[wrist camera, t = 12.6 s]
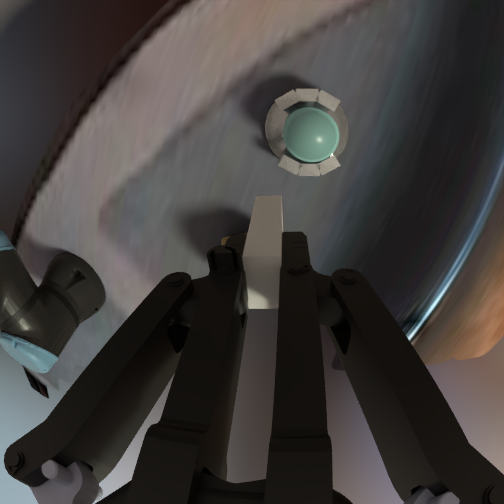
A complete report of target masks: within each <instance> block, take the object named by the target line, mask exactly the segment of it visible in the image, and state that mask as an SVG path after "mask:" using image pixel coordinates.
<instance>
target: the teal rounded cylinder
mask: <svg viewBox="0 0 504 504" xmlns="http://www.w3.org/2000/svg"><path fill="white" fill-rule="evenodd" d="M283 138H284V142H285V145H286V147H287V149H288V150H289V151H290V153H291V154H292V155H294V156H295V157H296V158H298V159H300V160H303V161H307V162H318V161H321V160H324V159H326V158H328V157H329V156H330V155H331V154H332V153H333V152H334V151H335V149H336V148H337V145H338V142H339V130H338V126H337V124H336V122H335V121H334V119H333V118H332V117H331V116H330V115H329V114H327V113H326V112H324V111H322V110H320V109H318V108H316V107H312V106H302V107H298V108H296V109H294V110H293V111H292V112H290V114H289V115H288V116H287V118H286V120H285V123H284V130H283Z"/></svg>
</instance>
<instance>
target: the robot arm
mask: <svg viewBox="0 0 504 504" xmlns="http://www.w3.org/2000/svg"><path fill="white" fill-rule="evenodd" d="M207 258H208V263H209V268H210V272H209V275H208V276H206V277H202V278H198V279H193V280H192V279H191V276H190V275H189V274H188V273H185V272H175V273H171V274H169V275H167V276H166V277H164V278H163V279H162V280H161V281H160V282H159V284H158V285H157V286H156V287H155V288H154V289H153V290H152V291H151V292H150V294H149V295H148V296H147V297H146V298H145V299H144V300H143V301H142V303H141V304H140V305H139V306H138V307H137V308H136V309H135V311H134V312H133V313H132V314H131V315H130V316H129V317H128V319H127V320H126V321H125V322H124V323H123V324H122V325H121V327H120V328H119V329H118V330H117V331H116V333H115V334H114V335H113V336H112V337H111V338H110V340H109V341H108V342H107V343H106V344H105V346H104V347H103V348H102V349H101V350H100V352H99V353H98V354H97V355H96V356H95V358H94V359H93V360H92V361H91V362H90V364H89V365H88V366H87V367H86V369H85V370H84V371H83V372H82V374H81V375H80V376H79V377H78V379H77V380H76V381H75V382H74V384H73V385H72V386H71V387H70V389H69V390H68V391H67V393H66V394H65V395H64V396H63V398H62V399H61V400H60V402H59V403H58V404H57V406H56V407H55V408H54V410H53V411H52V412H51V414H50V415H49V416H48V418H47V419H46V420H45V421H44V422H43V423H41V424H40V425H38V426H37V427H35V428H34V429H33V430H31V431H30V432H29V433H27V434H26V435H24V436H23V437H21V438H20V439H18V440H17V441H16V442H14V443H13V444H11V445H10V446H9V447H8V448H7V450H6V452H5V455H4V464H5V468H6V470H7V472H8V473H9V475H11V476H12V477H13V478H15V479H17V480H19V481H20V482H22V483H24V484H26V485H28V486H29V487H30V488H31V490H32V492H33V494H34V496H35V498H36V500H37V502H38V503H39V504H92V503H93V502H94V501H95V500H98V499H100V498H101V497H102V495H103V491H102V489H101V487H100V486H99V483H100V482H101V481H102V480H103V479H104V478H105V477H106V476H107V475H108V474H109V473H110V472H111V471H112V470H113V469H114V467H115V466H116V465H117V463H118V462H119V461H120V459H121V457H122V456H123V454H124V453H125V451H126V449H127V448H128V446H129V444H130V443H131V442H132V440H133V438H134V437H135V435H136V434H137V432H138V430H139V429H140V427H141V426H142V424H143V423H144V421H145V419H146V418H147V416H148V414H149V413H150V411H151V410H152V408H153V407H154V405H155V403H156V402H157V400H158V399H159V397H160V396H161V394H162V392H163V391H164V389H165V388H166V386H167V384H168V383H169V381H170V379H171V378H172V376H173V375H174V373H175V375H174V378H173V381H172V384H171V388H170V390H169V394H168V397H167V400H166V403H165V406H164V410H163V413H162V416H161V419H160V421H159V422H158V423H156V424H153V425H151V426H150V427H149V428H148V430H147V432H146V434H145V437H144V440H143V444H142V447H141V450H140V454H139V457H138V460H137V464H136V467H135V470H134V474H133V477H132V480H131V481H129V482H128V483H127V484H125V485H124V486H122V487H121V488H119V489H118V490H116V491H115V492H113V493H111V494H110V495H108V496H107V497H105V498H104V499H102V500H101V501H99V502H97V503H96V504H353V503H352V502H351V501H350V500H348V499H347V498H346V497H345V496H343V495H342V494H341V493H339V492H337V491H335V490H334V489H333V485H332V483H333V482H332V445H331V439H330V437H329V435H328V431H327V411H326V394H325V380H324V366H323V354H322V344H321V334H320V324H322V325H326V329H327V331H328V333H329V336H330V338H331V340H332V342H333V345H334V347H335V349H336V351H337V354H338V356H339V358H340V360H341V362H342V365H343V367H344V369H345V371H346V374H347V376H348V378H349V380H350V383H351V385H352V387H353V390H354V392H355V394H356V397H357V399H358V401H359V404H360V406H361V408H362V411H363V413H364V415H365V418H366V420H367V423H368V425H369V427H370V430H371V432H372V435H373V437H374V440H375V442H376V445H377V447H378V450H379V452H380V455H381V457H382V460H383V462H384V465H385V467H386V470H387V472H388V475H389V478H390V480H391V482H392V484H393V486H394V488H395V490H396V491H397V493H398V494H399V496H400V498H401V499H402V500H403V501H404V502H405V503H404V504H504V475H503V474H502V473H501V472H500V471H499V470H498V469H497V468H496V467H495V466H494V465H492V464H491V463H490V462H489V461H488V460H487V459H486V458H484V457H483V456H482V455H481V454H480V453H479V452H478V451H477V450H476V449H475V448H473V446H471V445H470V444H469V442H468V440H467V438H466V436H465V434H464V432H463V430H462V429H461V427H460V425H459V423H458V421H457V420H456V417H455V416H454V414H453V412H452V410H451V409H450V407H449V405H448V403H447V401H446V400H445V398H444V396H443V394H442V393H441V391H440V389H439V388H438V386H437V384H436V383H435V381H434V379H433V378H432V376H431V374H430V373H429V371H428V369H427V368H426V366H425V365H424V363H423V361H422V360H421V358H420V357H419V355H418V354H417V352H416V351H415V349H414V347H413V346H412V344H411V343H410V341H409V340H408V338H407V337H406V335H405V334H404V332H403V331H402V329H401V328H400V326H399V325H398V323H397V322H396V321H395V319H394V318H393V316H392V315H391V313H390V312H389V310H388V309H387V308H386V306H385V305H384V303H383V302H382V301H381V299H380V298H379V296H378V295H377V294H376V292H375V291H374V290H373V288H372V287H371V285H370V284H369V283H368V281H367V280H366V279H365V277H364V276H363V275H362V274H361V273H360V272H358V271H356V270H354V269H348V268H346V269H339V270H336V271H335V272H334V273H333V274H332V276H326V275H322V274H319V273H317V272H316V271H314V270H313V268H312V266H311V265H310V257H309V250H308V243H307V236H306V235H305V234H304V233H303V232H283V217H282V195H280V196H256V199H255V203H254V208H253V212H252V216H251V221H250V225H249V229H248V234H232V235H231V236H230V237H229V238H228V239H227V240H226V243H225V245H220V246H217V247H214V248H212V249H210V250H209V251H208V253H207ZM105 297H106V296H105V289H104V286H103V284H102V282H101V280H100V278H99V277H98V275H97V274H96V272H95V271H94V270H93V269H92V268H91V267H90V266H89V265H88V264H87V263H86V262H85V261H83V260H82V259H81V258H79V257H77V256H75V255H73V254H69V253H61V254H59V255H57V256H56V257H55V258H54V259H53V260H52V261H51V262H50V264H49V266H48V269H47V271H46V273H45V275H44V277H43V280H42V282H41V284H40V286H39V287H37V286H36V284H35V282H34V281H33V279H32V278H31V276H30V274H29V273H28V271H27V269H26V268H25V266H24V264H23V263H22V261H21V259H20V257H19V256H18V254H17V252H16V248H15V247H14V246H13V245H12V244H11V242H10V240H9V238H8V237H7V235H6V234H5V233H4V232H3V231H0V331H1V332H0V344H1V346H2V347H3V348H4V349H5V350H6V351H7V352H8V353H9V354H10V355H11V356H12V357H13V358H14V359H16V360H17V361H18V362H20V363H21V364H22V365H24V366H26V367H27V368H29V369H31V370H33V371H35V372H38V373H46V372H48V371H49V370H50V369H51V367H52V366H53V365H54V363H55V362H56V361H57V360H58V357H59V355H60V354H61V352H62V351H63V349H64V347H65V346H66V344H67V343H68V341H69V339H70V338H71V336H72V335H73V333H74V332H75V330H76V329H77V327H78V326H79V324H80V323H82V322H83V321H85V320H86V319H88V318H89V317H91V316H92V315H93V314H95V313H97V312H98V311H99V310H100V308H101V307H102V305H103V304H104V302H105ZM247 303H248V307H249V309H255V308H256V309H272V308H273V309H274V308H279V310H278V333H277V354H276V372H275V373H276V374H275V389H274V405H273V419H272V432H271V437H270V443H269V452H268V464H267V475H266V479H263V480H258V481H251V482H244V483H230V482H228V481H226V479H227V451H228V444H229V438H230V431H231V425H232V418H233V411H234V405H235V399H236V392H237V386H238V378H239V372H240V365H241V359H242V352H243V345H244V338H245V332H246V324H247V318H248V316H247Z"/></svg>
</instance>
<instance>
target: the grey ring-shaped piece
mask: <svg viewBox="0 0 504 504" xmlns="http://www.w3.org/2000/svg"><path fill="white" fill-rule="evenodd" d="M339 103H340V100H338V99H336V98H335V97H333V96H331V95H330V94H328V93H326V92H324V91H323V90H318V89H295V90H291V91H290V92H288V93H286V94H284V95H283V96H281V97H279V98H277V99H276V100H275V103H274V104H273V105H272V106H271V108H270V110H269V112H268V114H267V117H266V121H265V135H266V139H267V142H268V144H269V146H270V148H271V150H272V151H273V152H274V154H275V155H276V156H277V157H278V158H279V161H278V166H280V167H282V168H284V169H286V170H288V171H290V172H291V173H293V174H295V175H297V174H298V172H299V176H320V172H321V174H322V175H324V174H326V173H328V172H330V171H331V170H333V169H335V168H337V167H339V166H340V164H339V163H338V161H337V159H336V158H337V157H338V156H339V155H340V154H341V152H342V151H343V149H344V147H345V145H346V143H347V139H348V131H349V130H348V122H347V118H346V116H345V113H344V111H343V110H342V108H341V107H340V105H339ZM302 106H312V107H316V108H318V109H320V110H322V111H324V112H326V113H327V114H329V115H330V116H331V117H332V118H333V119H334V121H335V122H336V124H337V126H338V130H339V142H338V145H337V148H336V149H335V151H334V152H333V153H332V154H331V155H330V156H329V157H328V158H326V159H324V160H321V161H318V162H307V161H303V160H300V159H298V158H296V157H295V156H294V155H292V154H291V153H290V151H289V150H288V149H287V147H286V145H285V142H284V138H283V130H284V123H285V120H286V118H287V116H288V115H289V114H290V112H292V111H293V110H294V109H296V108H298V107H302Z"/></svg>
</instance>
